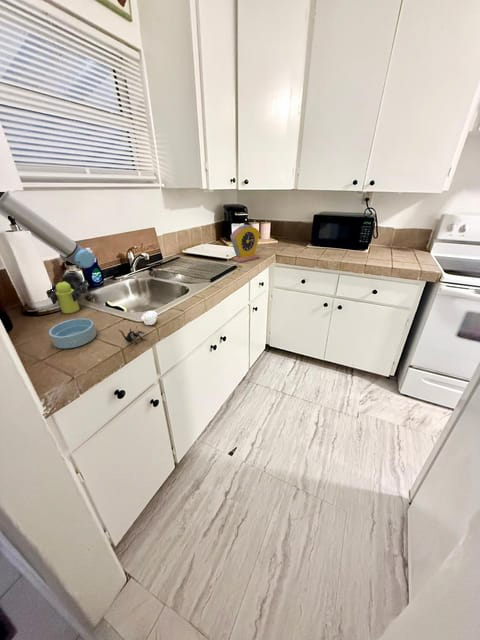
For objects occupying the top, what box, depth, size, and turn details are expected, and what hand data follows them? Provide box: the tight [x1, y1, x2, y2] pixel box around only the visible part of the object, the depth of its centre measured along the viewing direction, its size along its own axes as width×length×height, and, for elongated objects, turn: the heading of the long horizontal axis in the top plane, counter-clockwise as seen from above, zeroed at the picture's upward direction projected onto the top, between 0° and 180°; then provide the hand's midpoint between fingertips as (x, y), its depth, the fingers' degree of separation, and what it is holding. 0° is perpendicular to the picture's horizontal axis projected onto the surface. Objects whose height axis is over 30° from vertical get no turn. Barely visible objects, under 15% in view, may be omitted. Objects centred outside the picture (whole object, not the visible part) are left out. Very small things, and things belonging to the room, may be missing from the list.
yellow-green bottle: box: [55, 277, 80, 314], centre depth 101 cm, size 6×6×13 cm
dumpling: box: [140, 310, 158, 326], centre depth 94 cm, size 7×5×4 cm
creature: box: [118, 326, 146, 344], centre depth 83 cm, size 8×5×8 cm
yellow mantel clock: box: [229, 224, 261, 264], centre depth 167 cm, size 22×9×22 cm, turn 131°
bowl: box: [48, 317, 97, 349], centre depth 84 cm, size 12×12×4 cm
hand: (63, 299), depth 97 cm, fingers closed on yellow-green bottle, 6 cm apart
